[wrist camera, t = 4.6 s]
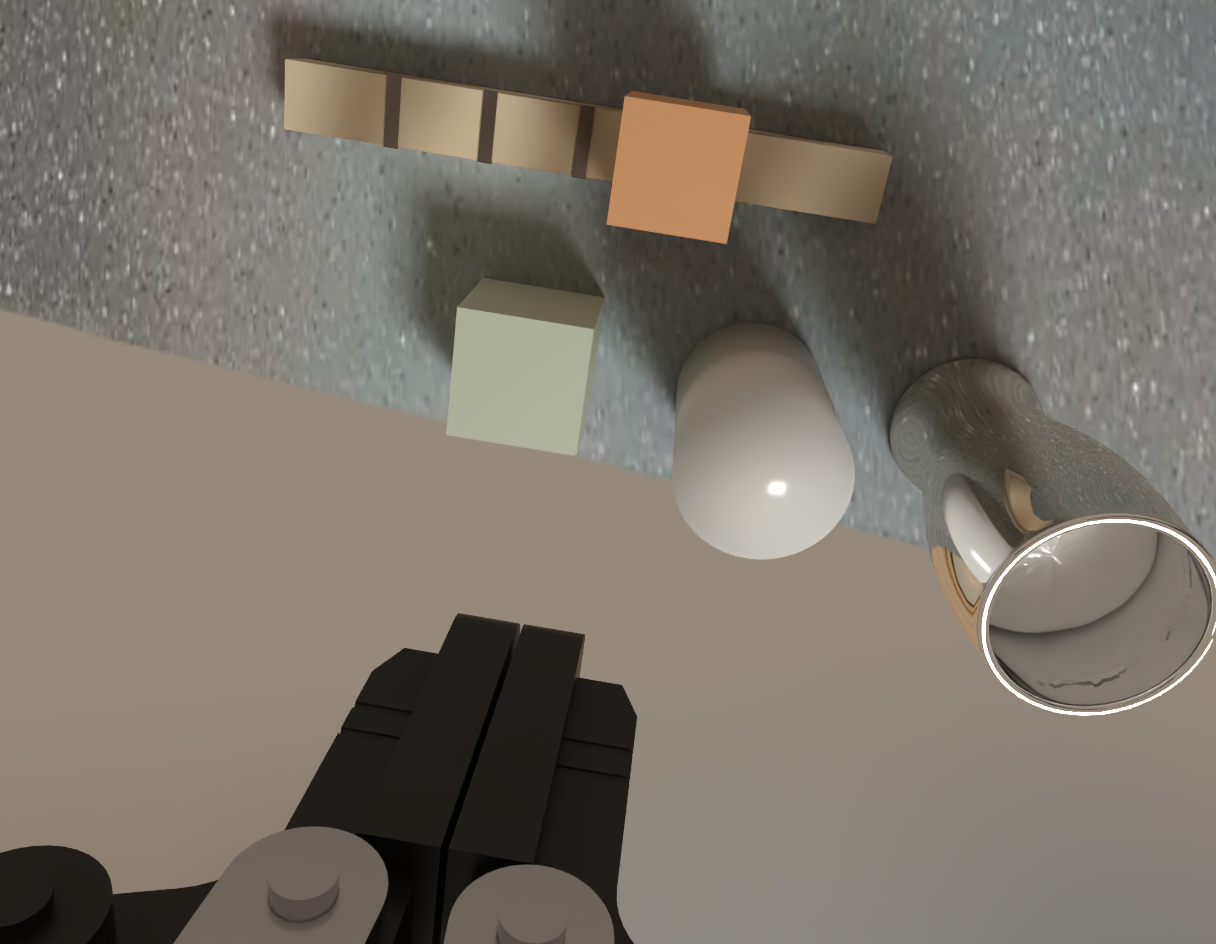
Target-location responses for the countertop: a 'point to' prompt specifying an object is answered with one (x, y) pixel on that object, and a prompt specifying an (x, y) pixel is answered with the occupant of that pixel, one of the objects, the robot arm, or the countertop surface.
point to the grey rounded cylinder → (758, 444)
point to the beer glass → (1051, 546)
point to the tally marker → (677, 166)
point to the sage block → (524, 365)
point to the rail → (560, 136)
